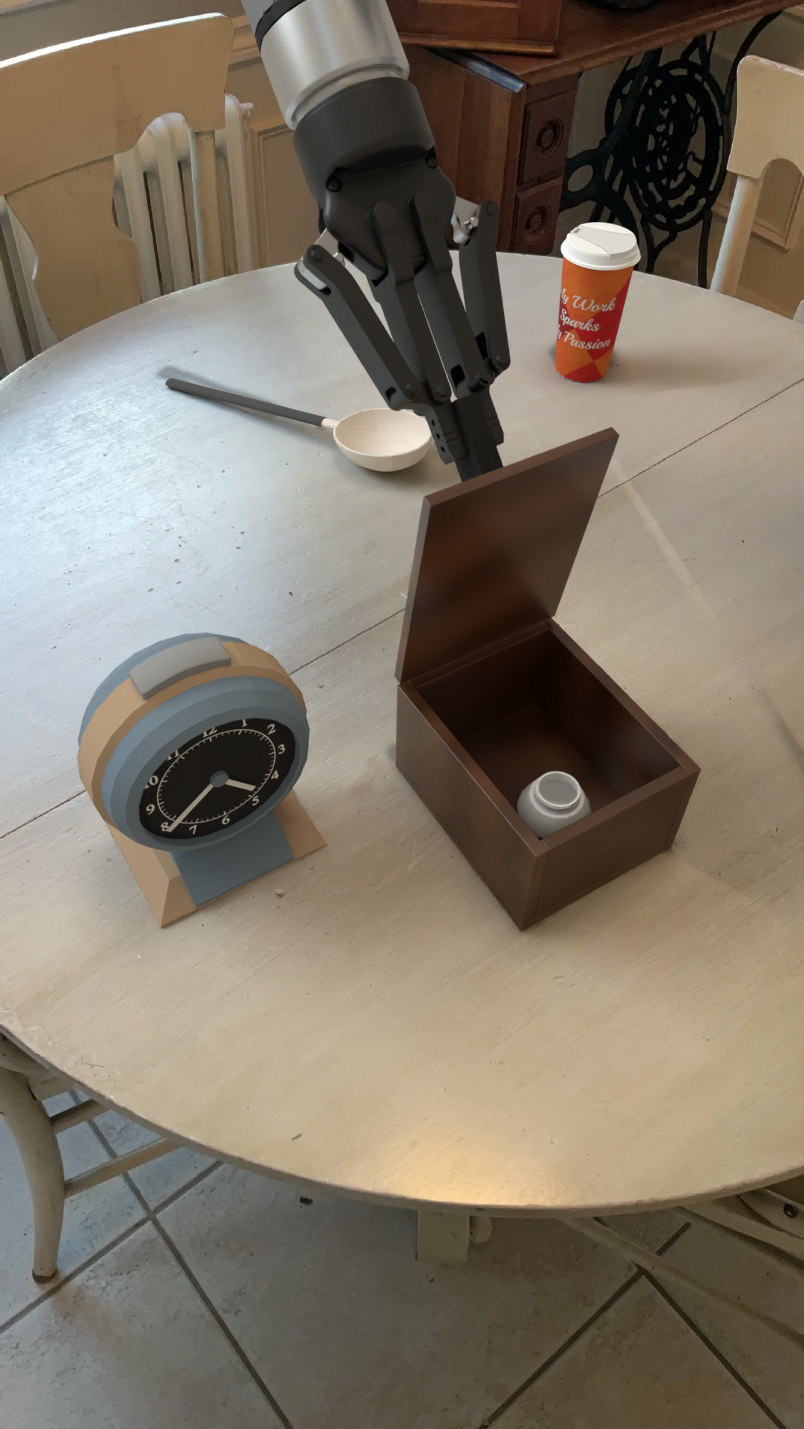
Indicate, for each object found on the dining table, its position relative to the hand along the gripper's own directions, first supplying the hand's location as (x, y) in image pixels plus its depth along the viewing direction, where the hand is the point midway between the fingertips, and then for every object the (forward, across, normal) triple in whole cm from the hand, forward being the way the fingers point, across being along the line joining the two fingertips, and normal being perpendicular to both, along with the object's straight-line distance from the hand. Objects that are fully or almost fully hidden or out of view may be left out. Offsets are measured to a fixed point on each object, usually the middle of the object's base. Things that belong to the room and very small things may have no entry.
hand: (494, 507), depth 62 cm
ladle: (-14, -7, -45) cm, 47 cm away
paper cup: (-10, -38, -41) cm, 57 cm away
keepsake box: (+20, 0, -10) cm, 23 cm away
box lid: (+4, 0, -2) cm, 4 cm away
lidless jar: (+21, -1, -8) cm, 23 cm away
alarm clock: (+14, +20, -16) cm, 30 cm away
